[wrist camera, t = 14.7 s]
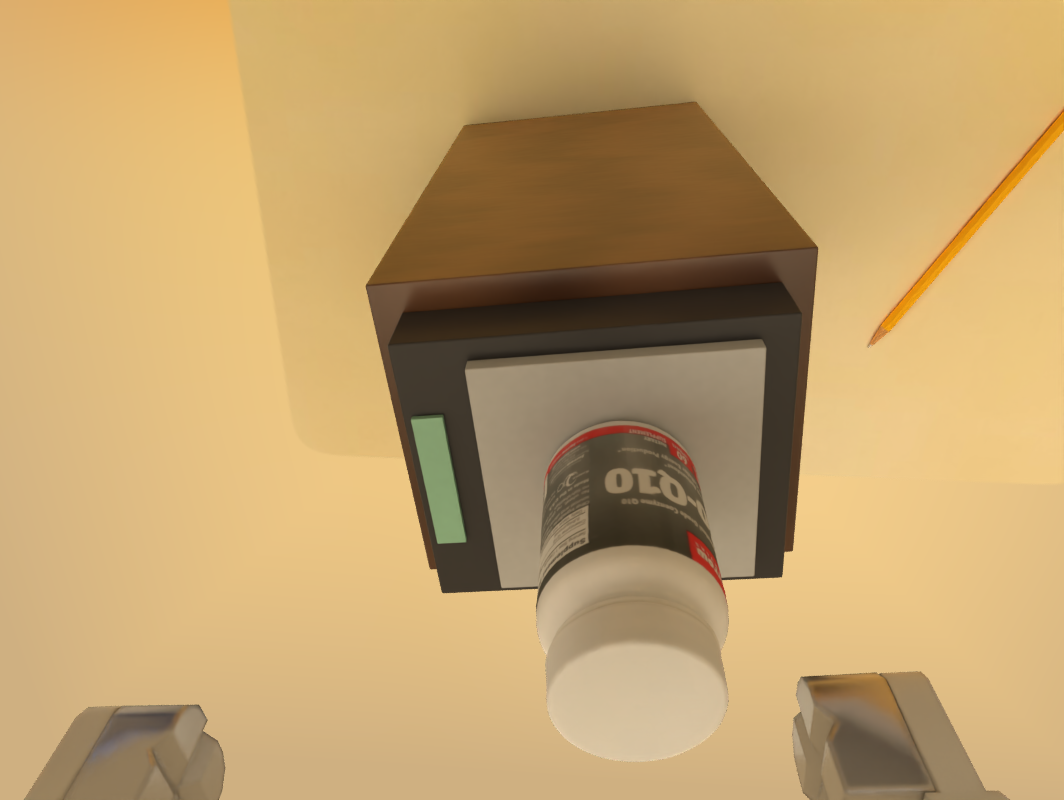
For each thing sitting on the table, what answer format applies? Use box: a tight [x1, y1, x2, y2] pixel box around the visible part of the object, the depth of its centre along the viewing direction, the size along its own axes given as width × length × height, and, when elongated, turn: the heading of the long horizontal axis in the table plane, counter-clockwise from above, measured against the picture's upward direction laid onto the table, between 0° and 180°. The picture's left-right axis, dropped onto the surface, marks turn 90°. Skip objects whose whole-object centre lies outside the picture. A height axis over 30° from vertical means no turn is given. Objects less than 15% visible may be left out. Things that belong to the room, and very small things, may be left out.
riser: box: [366, 102, 818, 569], centre depth 38 cm, size 14×12×26 cm
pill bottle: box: [536, 421, 729, 762], centre depth 20 cm, size 5×5×8 cm
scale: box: [387, 282, 802, 593], centre depth 25 cm, size 12×10×3 cm
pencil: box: [868, 111, 1064, 348], centre depth 48 cm, size 1×19×1 cm, turn 152°
